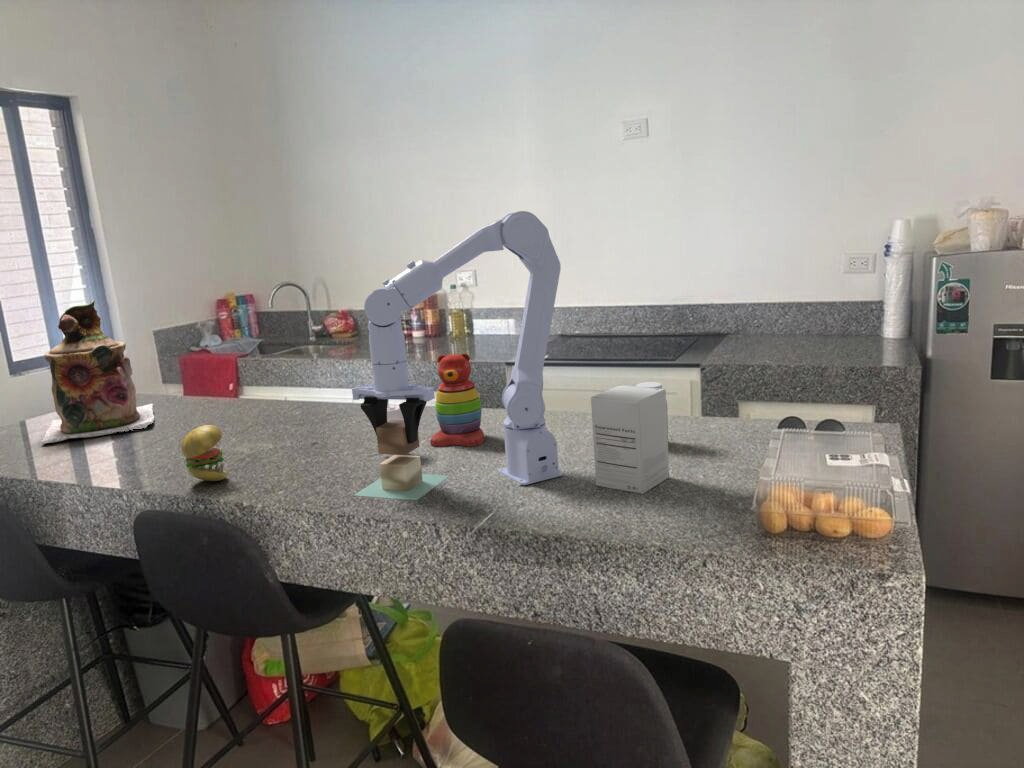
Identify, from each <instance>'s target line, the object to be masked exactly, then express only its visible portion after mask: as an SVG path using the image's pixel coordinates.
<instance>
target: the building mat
mask: <svg viewBox="0 0 1024 768" xmlns="http://www.w3.org/2000/svg"><path fill="white" fill-rule="evenodd" d="M449 477H450V475H447V474H444V475H443V474H431V473H430V474H429V473H428V474H427V473H422V480H423V481H422V482H421V483H419V484H418V485H416V486H415V487H414V488H412V489H411V490H409V491H399V490H384V489H382V482H381V477H380V478H379V479H377V480H376V481H374V482H372V483H371V484H368V485H367V486H366V487H364V488H362V489H361V490H359V491H358V492H356V493H354V494H353V495H352V496H354V497H364V498H365V497H367V498H369V497H370V498H380V499H391V500H393V499H395V500H405V501H407V500H408V501H418V500H419V499H421V498H422V497H423V496H425V495H426V494H428V493H429V492H430V491H431V490H433V489H434V488H436V487H437V486H438V485H440V484H441V483H442V482H444V481H445V480H446V479H448V478H449Z"/></svg>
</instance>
